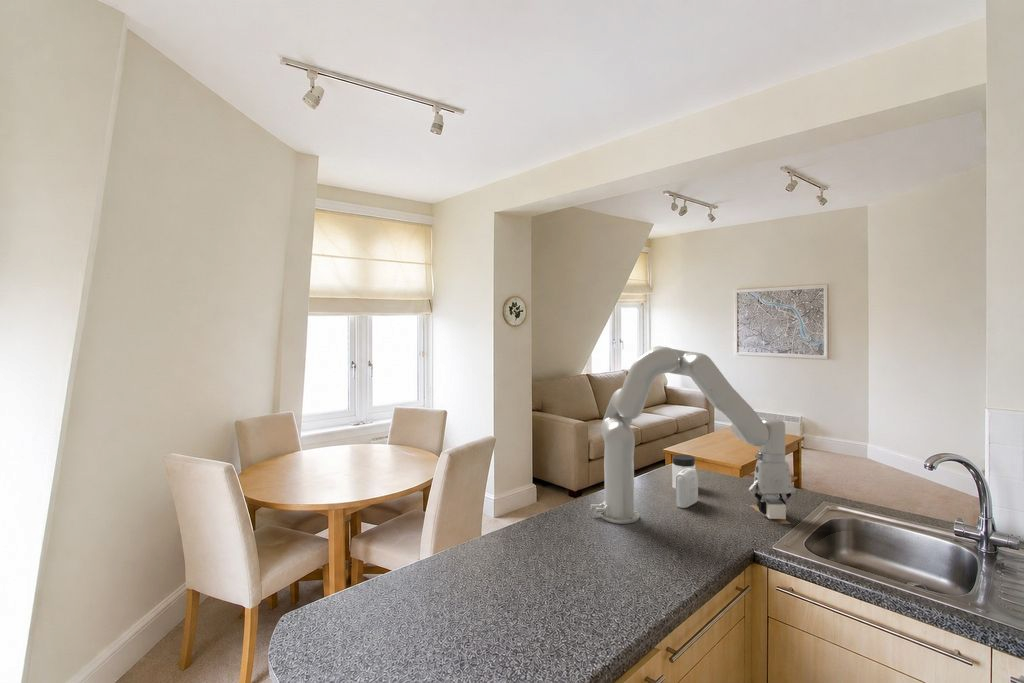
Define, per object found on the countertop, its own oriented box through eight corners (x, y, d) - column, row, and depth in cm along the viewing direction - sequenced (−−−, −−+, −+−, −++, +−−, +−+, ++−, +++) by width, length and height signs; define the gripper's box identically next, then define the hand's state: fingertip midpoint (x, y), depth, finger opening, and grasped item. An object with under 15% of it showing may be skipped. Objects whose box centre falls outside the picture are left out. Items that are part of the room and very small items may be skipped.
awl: (756, 507, 165) (756, 477, 164) (752, 504, 167) (752, 475, 167) (764, 507, 165) (763, 477, 164) (760, 504, 167) (759, 474, 167)
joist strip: (775, 524, 151) (774, 523, 151) (749, 505, 167) (749, 505, 167) (790, 524, 151) (790, 523, 151) (764, 505, 167) (764, 504, 167)
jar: (674, 483, 193) (674, 453, 193) (696, 485, 189) (696, 455, 189) (670, 489, 185) (670, 458, 185) (693, 492, 181) (693, 461, 181)
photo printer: (688, 498, 175) (687, 464, 175) (699, 501, 172) (699, 467, 172) (674, 506, 168) (673, 471, 168) (685, 509, 165) (685, 473, 165)
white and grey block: (769, 518, 153) (769, 503, 153) (759, 509, 161) (759, 494, 161) (785, 519, 153) (785, 503, 153) (774, 509, 161) (774, 494, 161)
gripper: (751, 460, 153) (751, 517, 153) (805, 459, 153) (805, 516, 153) (740, 454, 160) (740, 508, 161) (791, 453, 160) (791, 507, 161)
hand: (772, 512), depth 157 cm, fingers closed on white and grey block, 5 cm apart
